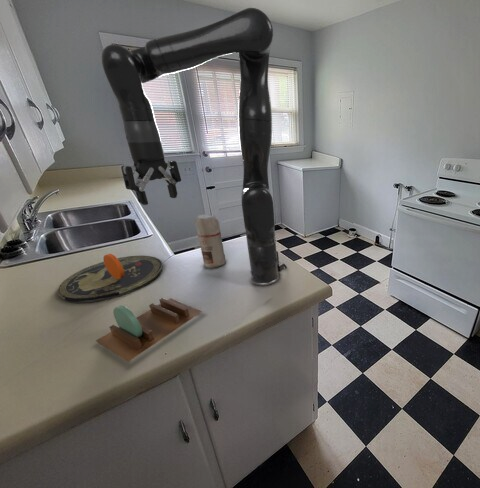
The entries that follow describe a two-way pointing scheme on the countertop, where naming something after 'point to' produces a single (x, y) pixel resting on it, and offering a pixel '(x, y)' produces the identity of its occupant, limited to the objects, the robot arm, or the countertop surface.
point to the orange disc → (113, 266)
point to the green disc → (127, 321)
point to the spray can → (210, 240)
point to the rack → (149, 328)
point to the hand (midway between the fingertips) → (159, 200)
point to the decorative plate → (109, 280)
